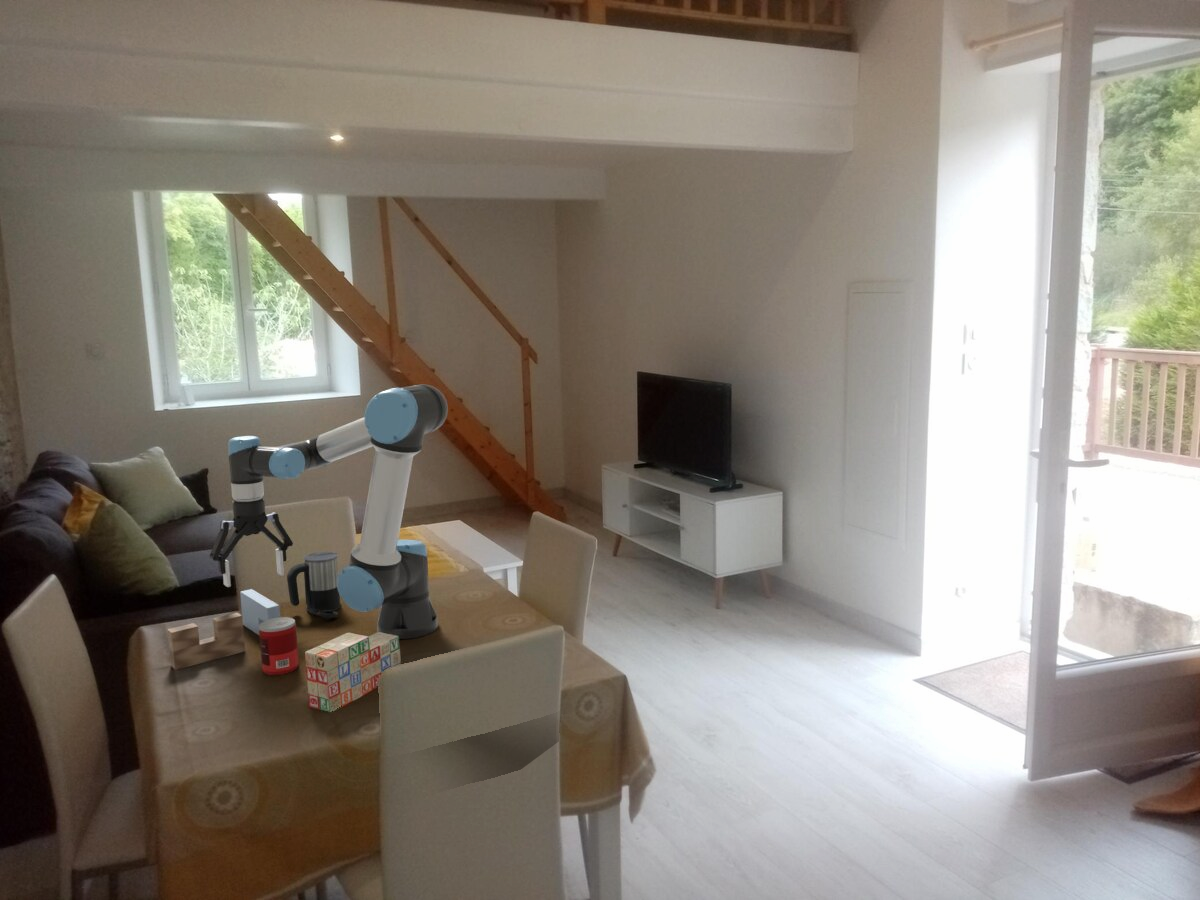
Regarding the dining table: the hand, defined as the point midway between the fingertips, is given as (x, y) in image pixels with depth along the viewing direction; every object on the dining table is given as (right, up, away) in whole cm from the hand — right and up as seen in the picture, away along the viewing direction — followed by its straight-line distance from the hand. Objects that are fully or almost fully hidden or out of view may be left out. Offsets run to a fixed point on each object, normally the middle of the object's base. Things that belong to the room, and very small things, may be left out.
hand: (254, 579), depth 229 cm
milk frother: (+13, -11, +15) cm, 23 cm away
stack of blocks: (+35, -19, -35) cm, 53 cm away
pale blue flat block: (+2, -13, +1) cm, 14 cm away
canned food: (+15, -17, -22) cm, 32 cm away
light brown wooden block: (-5, -16, -16) cm, 23 cm away
